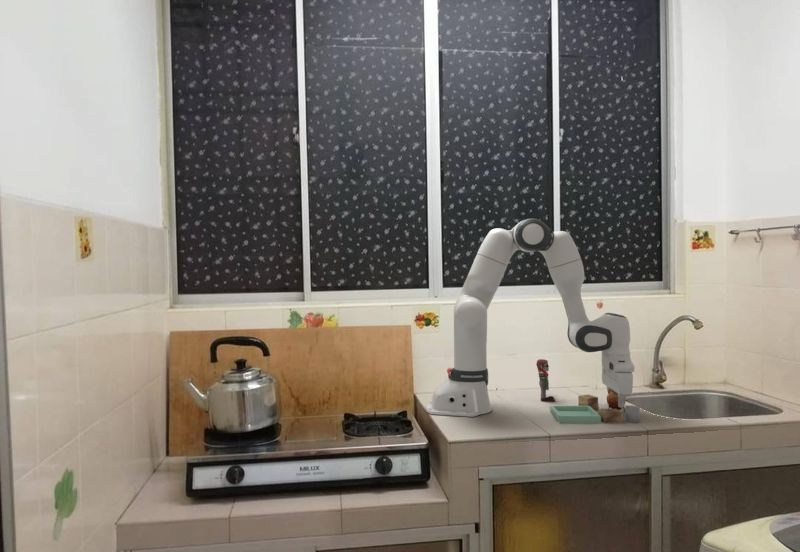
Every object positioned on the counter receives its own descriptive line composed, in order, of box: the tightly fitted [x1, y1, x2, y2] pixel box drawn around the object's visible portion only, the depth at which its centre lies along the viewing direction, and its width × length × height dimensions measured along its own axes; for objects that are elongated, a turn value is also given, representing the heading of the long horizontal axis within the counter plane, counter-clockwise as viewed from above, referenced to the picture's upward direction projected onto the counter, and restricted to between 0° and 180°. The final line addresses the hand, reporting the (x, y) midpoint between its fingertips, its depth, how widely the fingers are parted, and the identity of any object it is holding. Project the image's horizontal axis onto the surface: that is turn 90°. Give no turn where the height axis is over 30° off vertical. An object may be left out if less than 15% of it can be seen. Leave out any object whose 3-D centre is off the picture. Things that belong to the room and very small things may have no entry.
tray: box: [549, 404, 602, 424], centre depth 176 cm, size 13×13×2 cm
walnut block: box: [597, 408, 623, 424], centre depth 171 cm, size 6×4×4 cm, turn 96°
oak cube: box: [577, 394, 599, 412], centre depth 185 cm, size 4×4×4 cm
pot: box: [606, 389, 627, 413], centre depth 180 cm, size 6×8×6 cm
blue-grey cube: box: [625, 405, 641, 424], centre depth 170 cm, size 4×4×4 cm
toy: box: [536, 358, 556, 403], centre depth 198 cm, size 18×6×15 cm, turn 168°
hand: (615, 403), depth 180 cm, fingers open, 8 cm apart
